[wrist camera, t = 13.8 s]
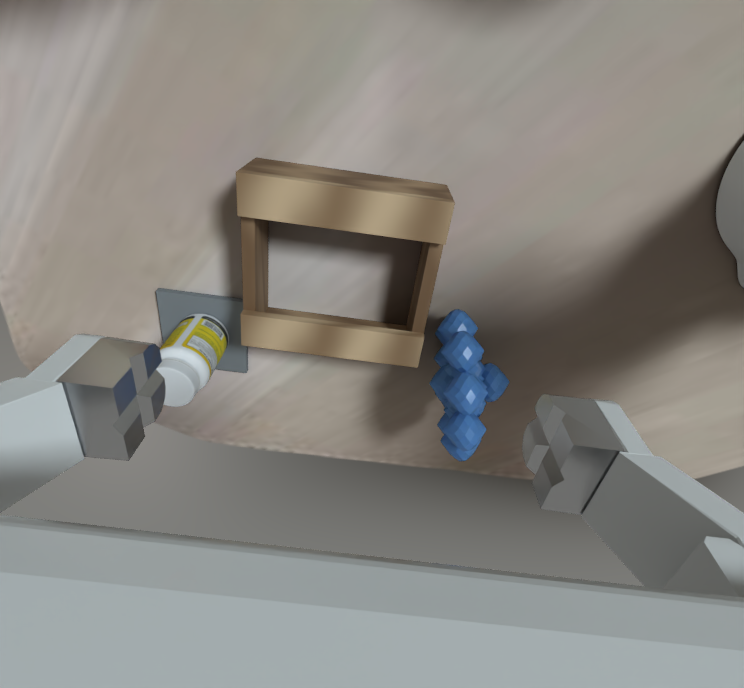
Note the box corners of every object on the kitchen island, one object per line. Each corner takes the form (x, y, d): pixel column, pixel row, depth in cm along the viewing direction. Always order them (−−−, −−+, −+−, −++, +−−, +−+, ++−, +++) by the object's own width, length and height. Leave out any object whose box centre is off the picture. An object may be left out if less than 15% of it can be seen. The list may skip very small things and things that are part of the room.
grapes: (490, 393, 46) (518, 486, 36) (424, 394, 46) (433, 487, 36) (501, 289, 40) (539, 367, 30) (425, 292, 40) (436, 369, 30)
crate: (446, 184, 35) (454, 203, 31) (414, 335, 43) (417, 367, 38) (255, 157, 35) (235, 171, 30) (257, 315, 42) (241, 345, 38)
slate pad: (246, 299, 41) (244, 302, 41) (248, 369, 46) (246, 373, 45) (158, 288, 41) (155, 290, 41) (168, 359, 45) (166, 363, 45)
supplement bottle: (183, 351, 44) (143, 407, 37) (176, 309, 42) (132, 360, 34) (232, 356, 44) (201, 413, 37) (228, 314, 42) (195, 366, 34)
